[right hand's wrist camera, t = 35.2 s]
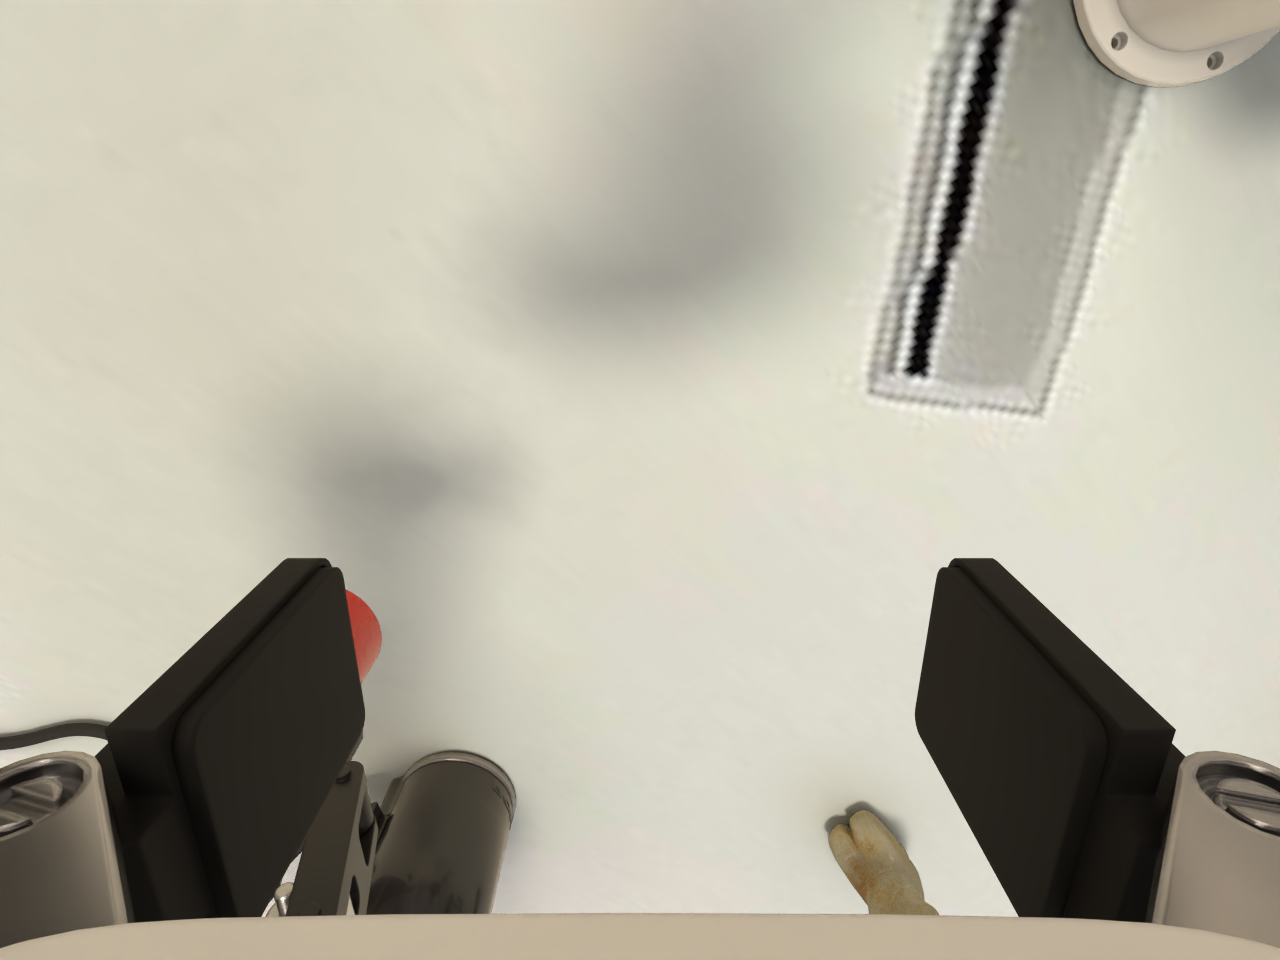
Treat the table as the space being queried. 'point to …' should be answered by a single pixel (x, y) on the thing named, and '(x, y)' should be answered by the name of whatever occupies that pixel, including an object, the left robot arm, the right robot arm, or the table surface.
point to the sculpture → (878, 867)
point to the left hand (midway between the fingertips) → (268, 709)
